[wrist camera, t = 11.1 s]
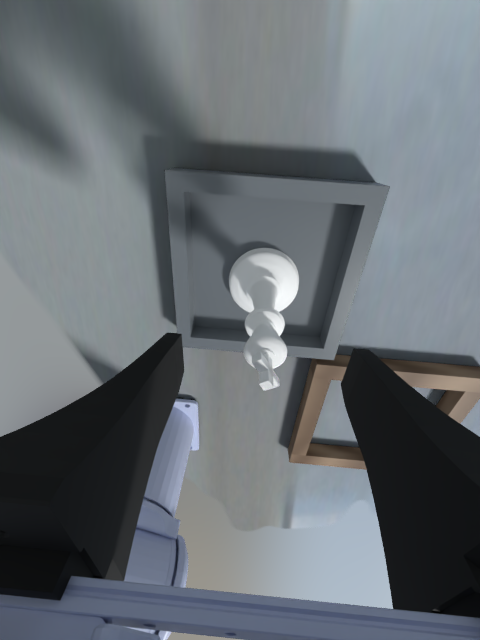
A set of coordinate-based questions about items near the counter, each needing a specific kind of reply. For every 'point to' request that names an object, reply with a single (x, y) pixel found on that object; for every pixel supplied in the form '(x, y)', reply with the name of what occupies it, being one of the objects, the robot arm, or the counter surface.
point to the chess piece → (264, 306)
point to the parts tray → (268, 232)
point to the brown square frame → (455, 379)
